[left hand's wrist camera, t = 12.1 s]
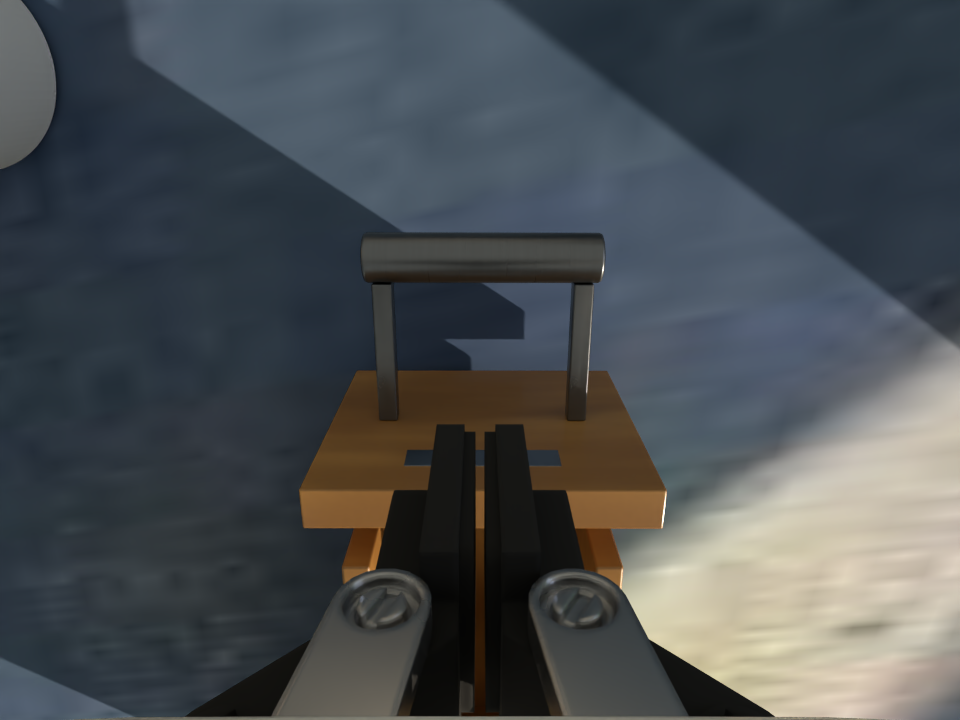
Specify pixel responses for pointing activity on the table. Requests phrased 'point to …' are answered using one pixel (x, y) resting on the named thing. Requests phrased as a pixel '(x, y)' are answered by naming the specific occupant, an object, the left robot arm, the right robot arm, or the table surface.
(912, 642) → the table surface
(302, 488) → the drawer
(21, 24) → the coffee cup
